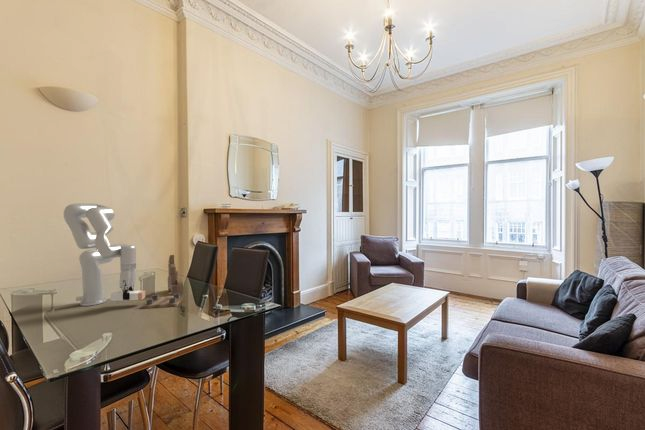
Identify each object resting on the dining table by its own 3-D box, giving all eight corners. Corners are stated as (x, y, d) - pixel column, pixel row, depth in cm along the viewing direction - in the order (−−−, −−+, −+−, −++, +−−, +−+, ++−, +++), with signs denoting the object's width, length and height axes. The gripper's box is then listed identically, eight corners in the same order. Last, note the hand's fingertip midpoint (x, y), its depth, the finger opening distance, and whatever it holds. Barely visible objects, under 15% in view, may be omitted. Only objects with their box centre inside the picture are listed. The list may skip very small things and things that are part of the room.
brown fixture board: (142, 308, 169) (142, 301, 169) (151, 300, 183) (151, 294, 183) (176, 306, 173) (176, 299, 173) (183, 298, 186) (183, 292, 186)
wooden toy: (183, 293, 197) (182, 255, 197) (172, 295, 193) (171, 256, 192) (178, 288, 210) (177, 252, 209) (167, 290, 205) (166, 253, 205)
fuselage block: (110, 301, 171) (110, 293, 170) (115, 298, 176) (115, 291, 175) (141, 299, 174) (141, 292, 173) (145, 297, 178) (145, 290, 178)
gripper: (127, 263, 181) (127, 294, 182) (113, 270, 165) (113, 303, 165) (141, 263, 183) (141, 293, 184) (129, 269, 166) (129, 302, 167)
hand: (128, 297), depth 174 cm, fingers closed on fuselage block, 5 cm apart
